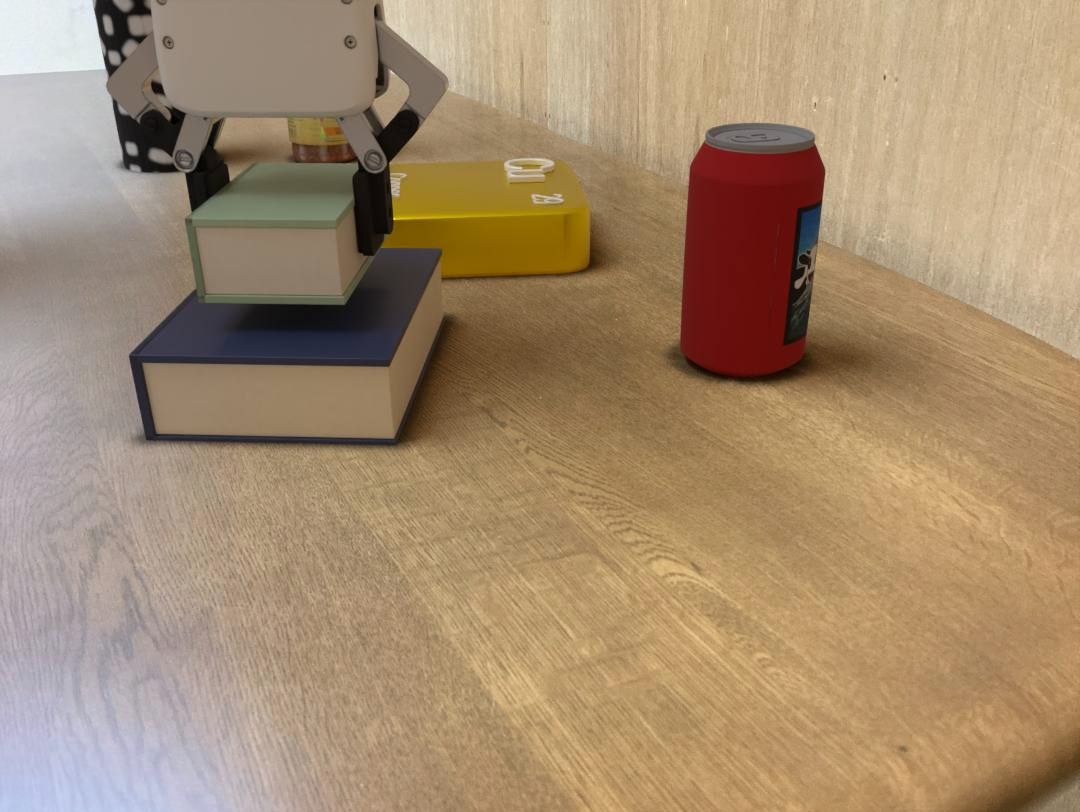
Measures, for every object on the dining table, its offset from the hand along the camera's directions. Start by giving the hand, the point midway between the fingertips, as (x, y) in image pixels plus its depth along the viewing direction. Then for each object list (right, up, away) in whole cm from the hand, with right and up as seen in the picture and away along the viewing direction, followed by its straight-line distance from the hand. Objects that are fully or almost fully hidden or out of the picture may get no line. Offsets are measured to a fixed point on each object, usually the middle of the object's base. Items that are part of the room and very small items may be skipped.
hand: (297, 244), depth 58 cm
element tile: (+8, +6, +24) cm, 26 cm away
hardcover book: (0, -1, +1) cm, 1 cm away
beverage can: (+23, -5, +5) cm, 24 cm away
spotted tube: (-22, +20, +47) cm, 55 cm away
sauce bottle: (-7, +20, +48) cm, 53 cm away
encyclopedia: (0, -6, +4) cm, 7 cm away
